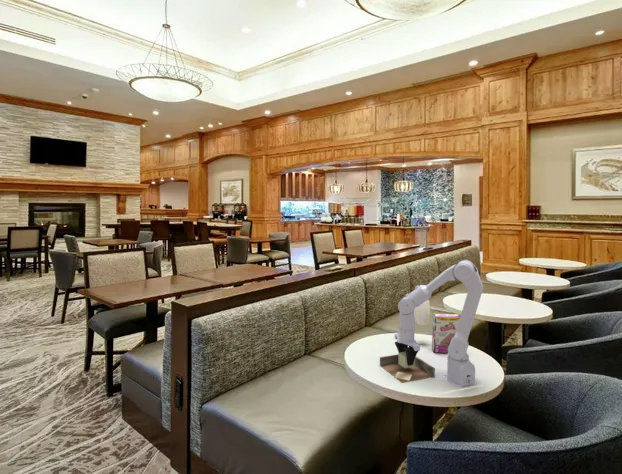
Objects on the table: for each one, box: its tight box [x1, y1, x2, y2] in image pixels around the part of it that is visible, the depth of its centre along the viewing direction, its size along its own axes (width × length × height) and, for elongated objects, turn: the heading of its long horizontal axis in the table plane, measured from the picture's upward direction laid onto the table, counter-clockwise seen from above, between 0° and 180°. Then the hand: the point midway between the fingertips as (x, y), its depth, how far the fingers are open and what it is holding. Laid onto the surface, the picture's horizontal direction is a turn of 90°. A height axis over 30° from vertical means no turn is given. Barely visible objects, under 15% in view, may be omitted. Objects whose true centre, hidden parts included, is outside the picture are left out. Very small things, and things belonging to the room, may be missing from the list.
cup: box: [414, 299, 431, 327], centre depth 174 cm, size 7×7×21 cm
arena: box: [379, 353, 436, 384], centre depth 146 cm, size 16×14×4 cm
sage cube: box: [397, 352, 415, 368], centre depth 148 cm, size 4×4×4 cm
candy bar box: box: [431, 313, 461, 354], centre depth 166 cm, size 11×5×16 cm, turn 84°
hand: (406, 362), depth 148 cm, fingers closed on sage cube, 4 cm apart
